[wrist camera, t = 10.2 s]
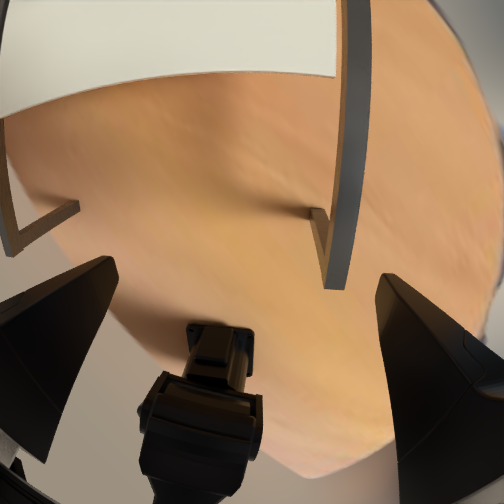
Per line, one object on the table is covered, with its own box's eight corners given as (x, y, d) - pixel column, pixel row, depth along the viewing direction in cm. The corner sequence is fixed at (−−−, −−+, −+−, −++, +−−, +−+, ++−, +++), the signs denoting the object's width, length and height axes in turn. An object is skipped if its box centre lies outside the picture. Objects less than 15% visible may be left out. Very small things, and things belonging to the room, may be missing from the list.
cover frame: (322, 222, 22) (344, 290, 14) (72, 212, 23) (6, 256, 15) (332, -41, 12) (354, -106, 4) (73, -6, 14) (5, -26, 6)
